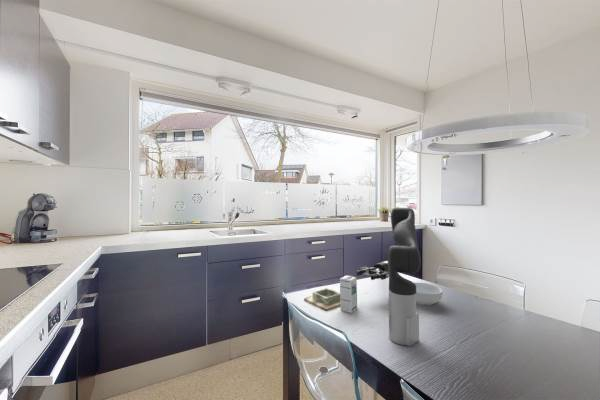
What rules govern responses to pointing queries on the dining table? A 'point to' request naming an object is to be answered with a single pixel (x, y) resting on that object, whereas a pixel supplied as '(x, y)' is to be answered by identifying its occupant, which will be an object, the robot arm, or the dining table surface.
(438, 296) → the cereal bowl
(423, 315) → the dining table surface
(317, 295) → the socket
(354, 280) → the syrup box
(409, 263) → the robot arm
